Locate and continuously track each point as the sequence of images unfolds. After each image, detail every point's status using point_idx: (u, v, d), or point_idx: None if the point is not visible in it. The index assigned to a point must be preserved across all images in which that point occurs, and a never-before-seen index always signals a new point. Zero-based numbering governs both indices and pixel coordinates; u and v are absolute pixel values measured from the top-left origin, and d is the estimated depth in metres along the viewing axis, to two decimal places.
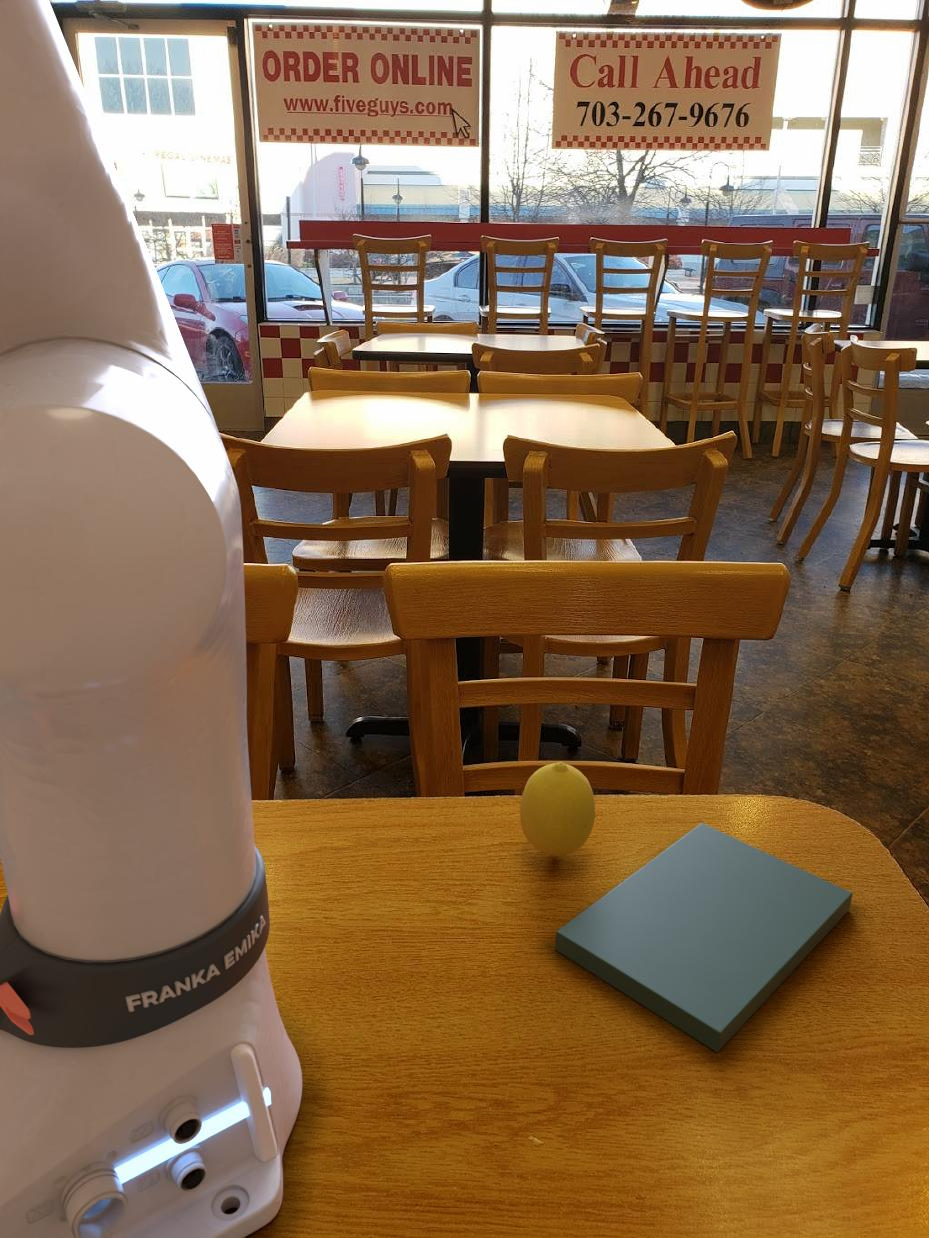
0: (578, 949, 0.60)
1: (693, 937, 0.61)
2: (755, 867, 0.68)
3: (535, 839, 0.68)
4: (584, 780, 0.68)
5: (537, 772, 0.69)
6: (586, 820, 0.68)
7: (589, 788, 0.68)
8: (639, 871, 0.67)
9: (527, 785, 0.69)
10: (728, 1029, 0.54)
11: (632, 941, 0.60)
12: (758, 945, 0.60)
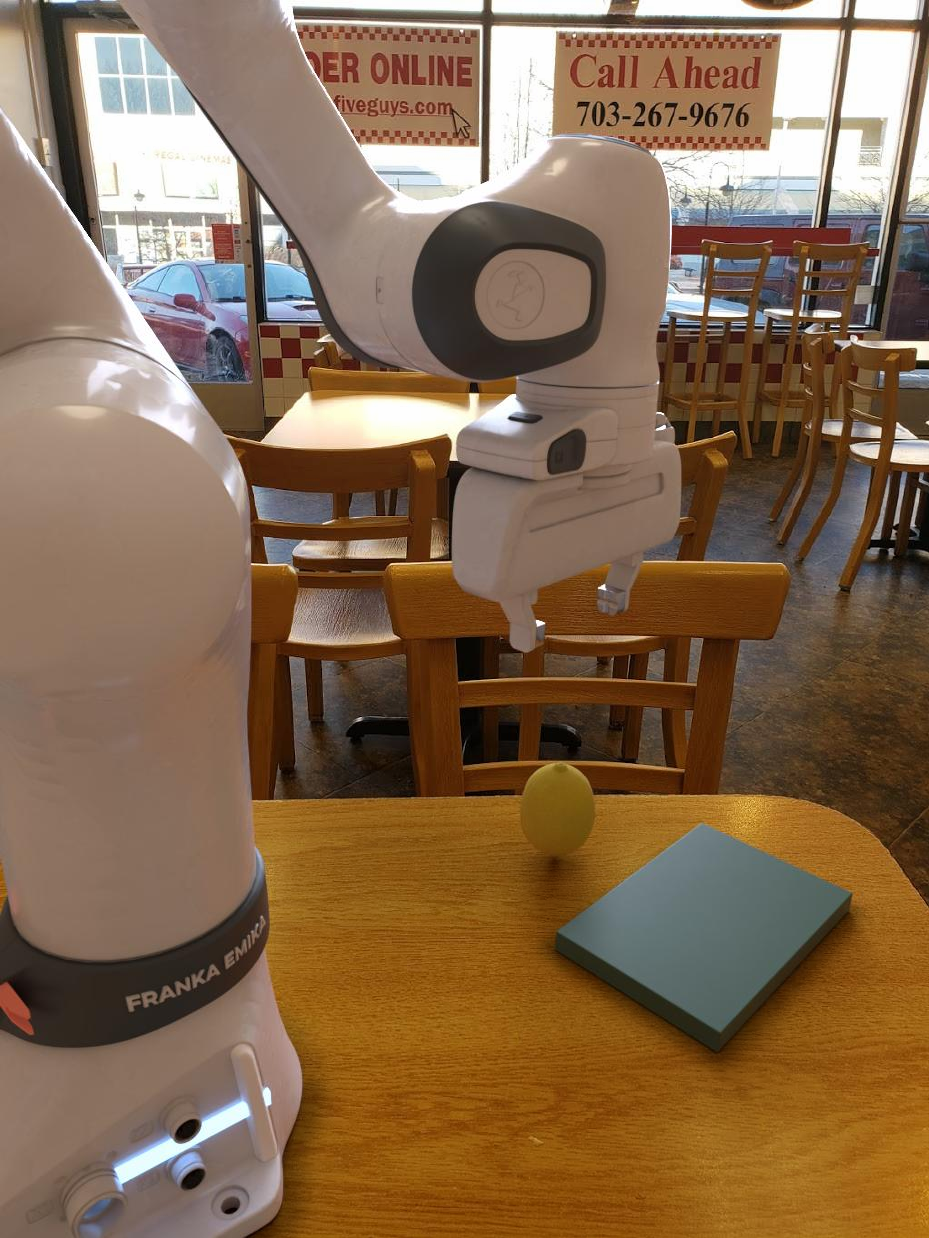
0: (578, 949, 0.60)
1: (693, 937, 0.61)
2: (755, 867, 0.68)
3: (535, 839, 0.68)
4: (584, 780, 0.68)
5: (537, 772, 0.69)
6: (586, 820, 0.68)
7: (589, 788, 0.68)
8: (639, 871, 0.67)
9: (527, 785, 0.69)
10: (728, 1029, 0.54)
11: (632, 941, 0.60)
12: (758, 945, 0.60)
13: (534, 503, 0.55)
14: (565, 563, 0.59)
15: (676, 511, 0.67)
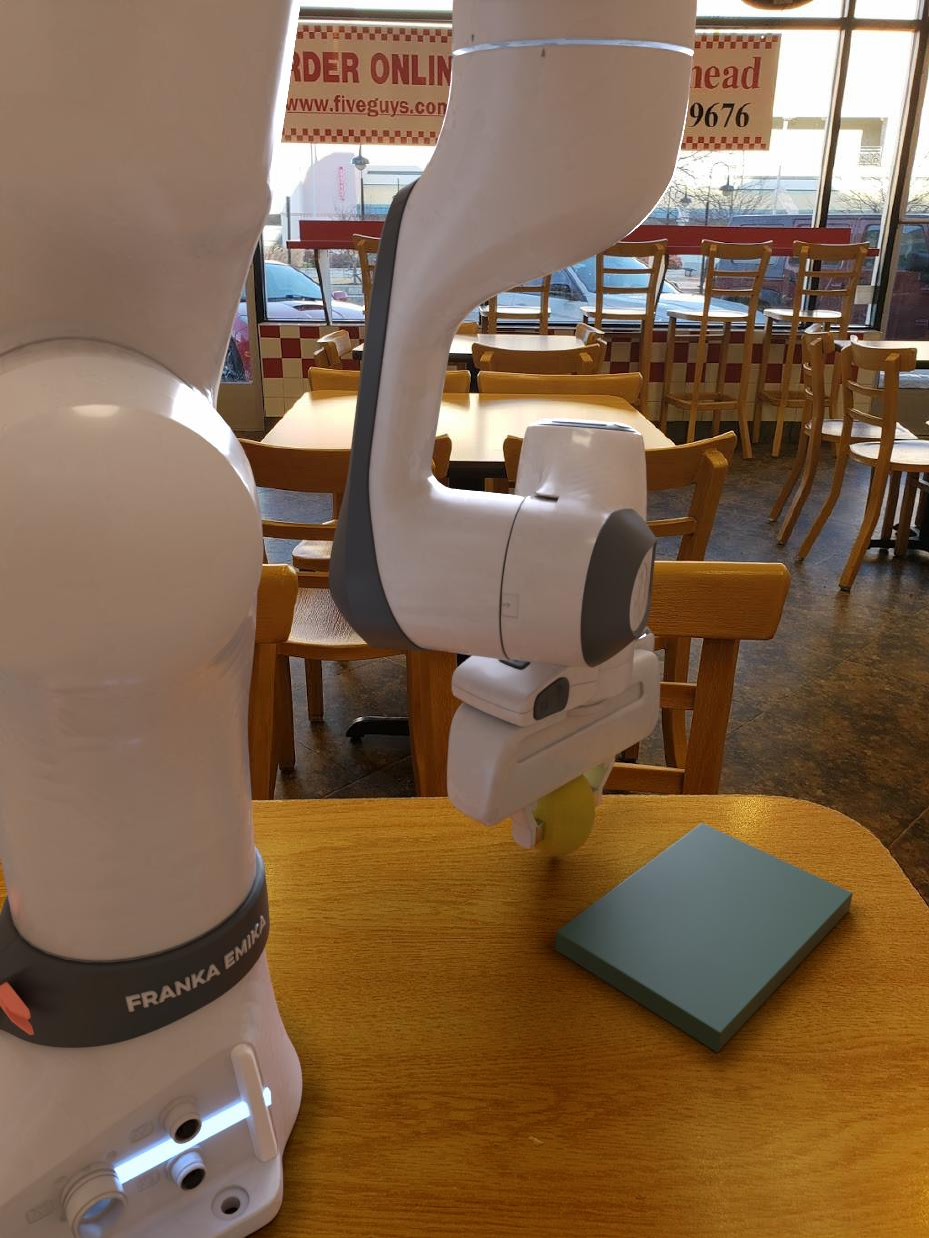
0: (578, 949, 0.60)
1: (693, 937, 0.61)
2: (755, 867, 0.68)
3: None
4: (584, 780, 0.68)
5: None
6: (586, 819, 0.68)
7: (589, 788, 0.68)
8: (639, 871, 0.67)
9: None
10: (728, 1029, 0.54)
11: (632, 941, 0.60)
12: (758, 945, 0.60)
13: (522, 740, 0.60)
14: (551, 780, 0.64)
15: (655, 709, 0.72)
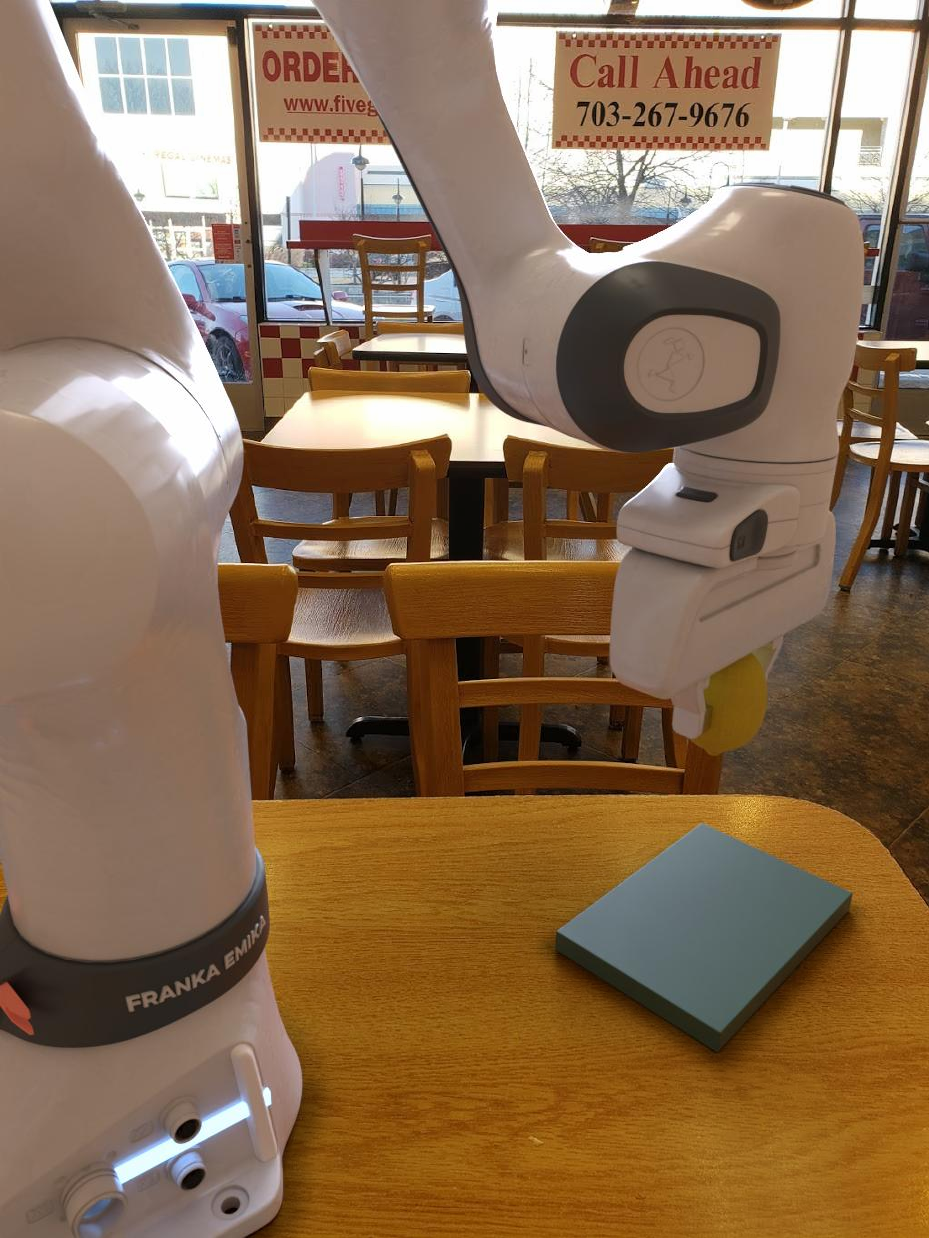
0: (578, 949, 0.60)
1: (693, 937, 0.61)
2: (755, 867, 0.68)
3: None
4: (756, 659, 0.57)
5: None
6: (761, 705, 0.56)
7: (762, 668, 0.57)
8: (639, 871, 0.67)
9: None
10: (728, 1029, 0.54)
11: (632, 941, 0.60)
12: (758, 945, 0.60)
13: None
14: (729, 650, 0.53)
15: (828, 583, 0.61)
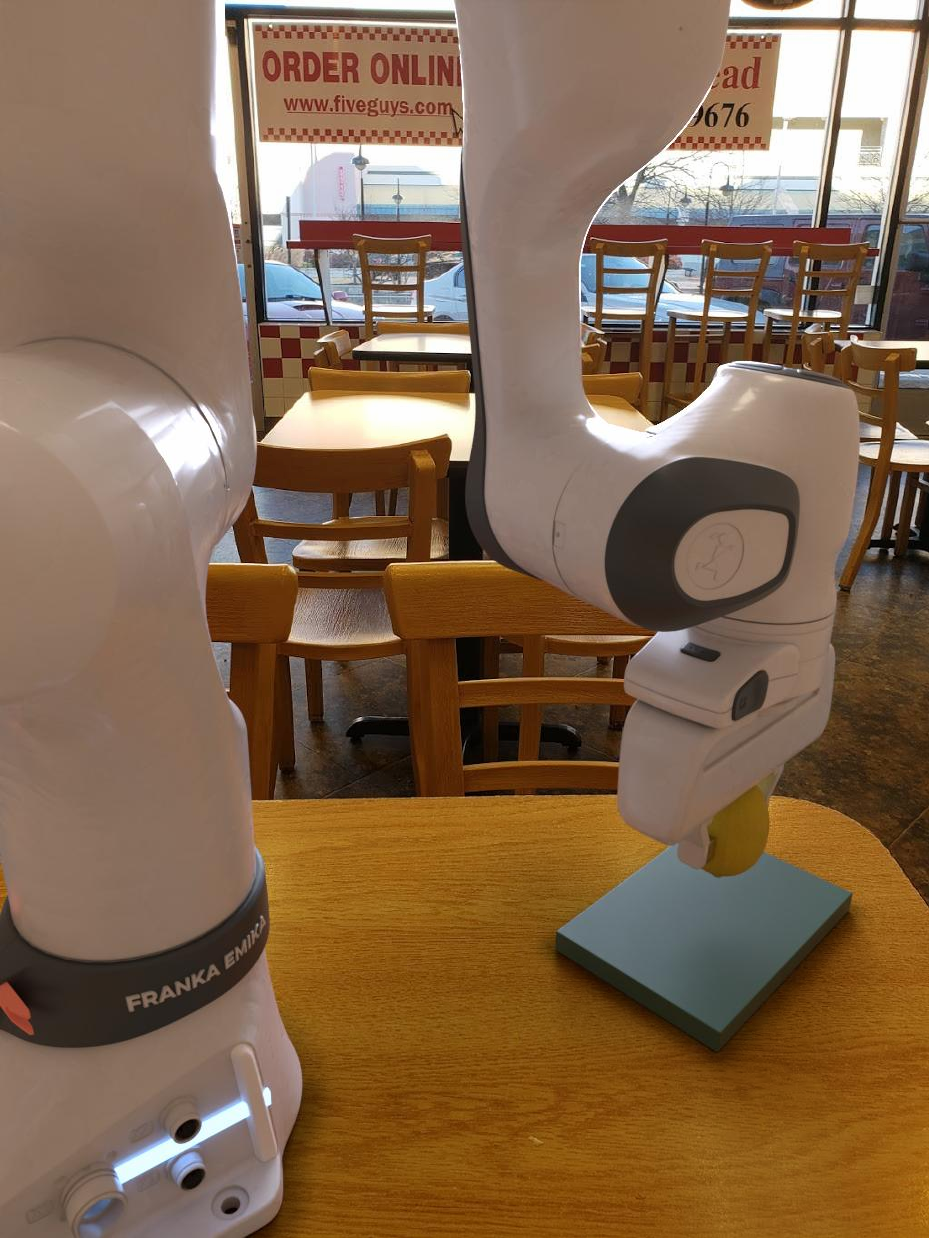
0: (578, 949, 0.60)
1: (693, 937, 0.61)
2: (755, 867, 0.68)
3: None
4: (758, 789, 0.59)
5: None
6: (763, 835, 0.59)
7: (764, 798, 0.59)
8: (639, 871, 0.67)
9: None
10: (728, 1029, 0.54)
11: (632, 941, 0.60)
12: (758, 945, 0.60)
13: None
14: (731, 790, 0.55)
15: (827, 707, 0.63)
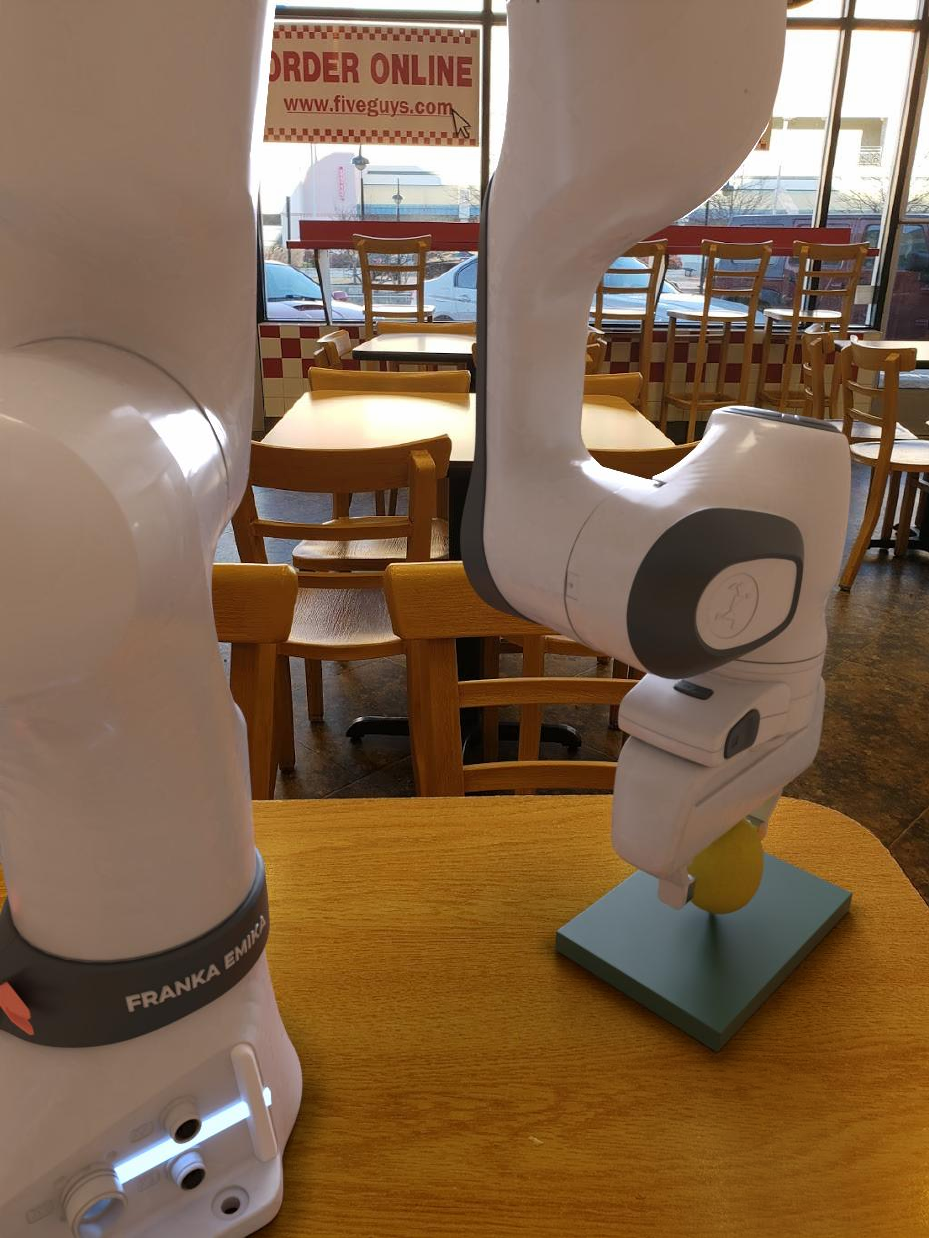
0: (578, 949, 0.60)
1: (693, 937, 0.61)
2: None
3: (698, 895, 0.60)
4: (753, 829, 0.60)
5: None
6: (757, 874, 0.60)
7: (759, 838, 0.60)
8: (639, 871, 0.67)
9: None
10: (728, 1029, 0.54)
11: (632, 941, 0.60)
12: (758, 945, 0.60)
13: None
14: (723, 823, 0.56)
15: (817, 738, 0.64)
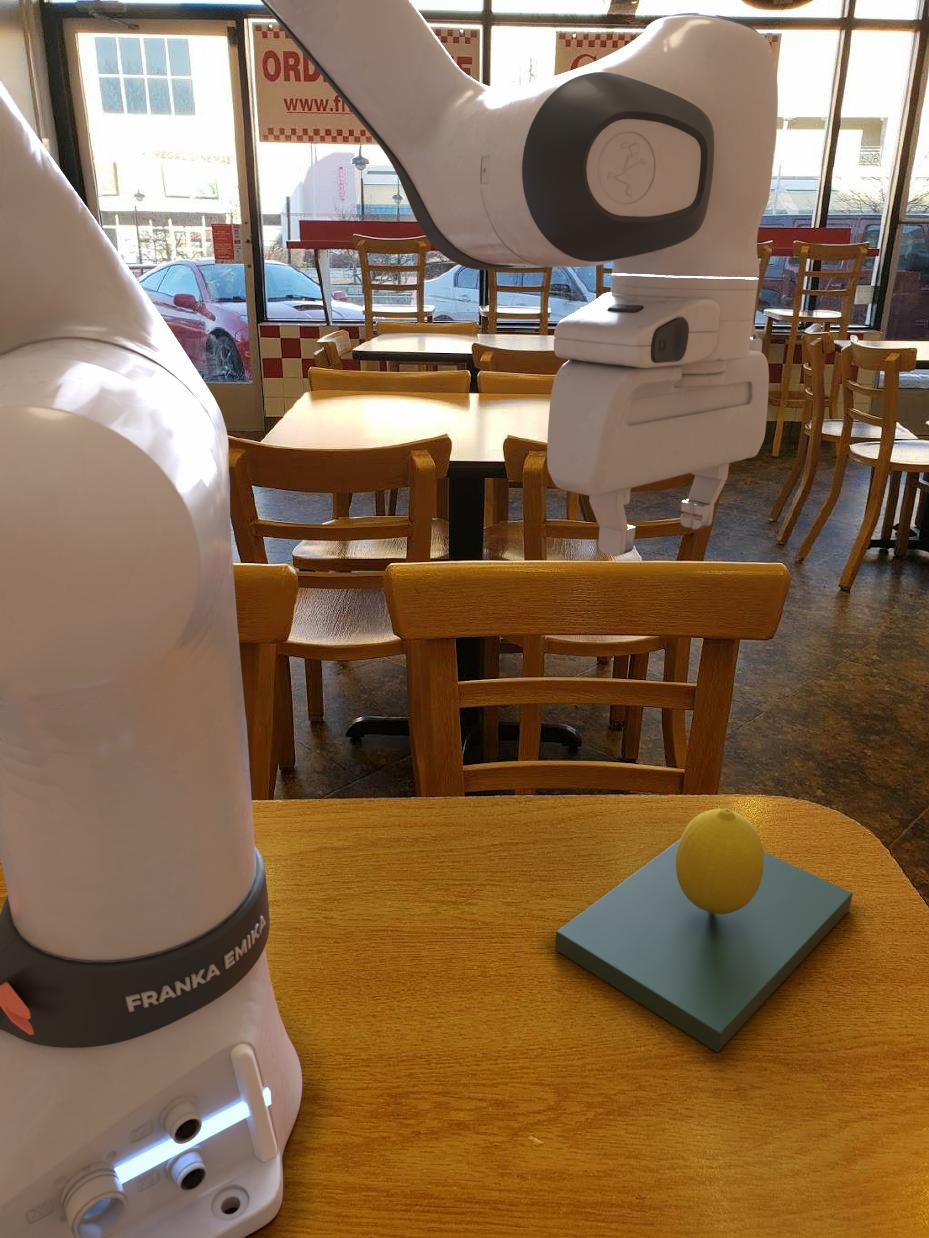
0: (578, 949, 0.60)
1: (693, 937, 0.61)
2: None
3: (698, 895, 0.60)
4: (753, 829, 0.60)
5: (698, 819, 0.61)
6: (757, 874, 0.60)
7: (759, 838, 0.60)
8: (639, 871, 0.67)
9: (687, 834, 0.61)
10: (728, 1029, 0.54)
11: (632, 941, 0.60)
12: (758, 945, 0.60)
13: (634, 394, 0.54)
14: (659, 463, 0.58)
15: (762, 424, 0.66)
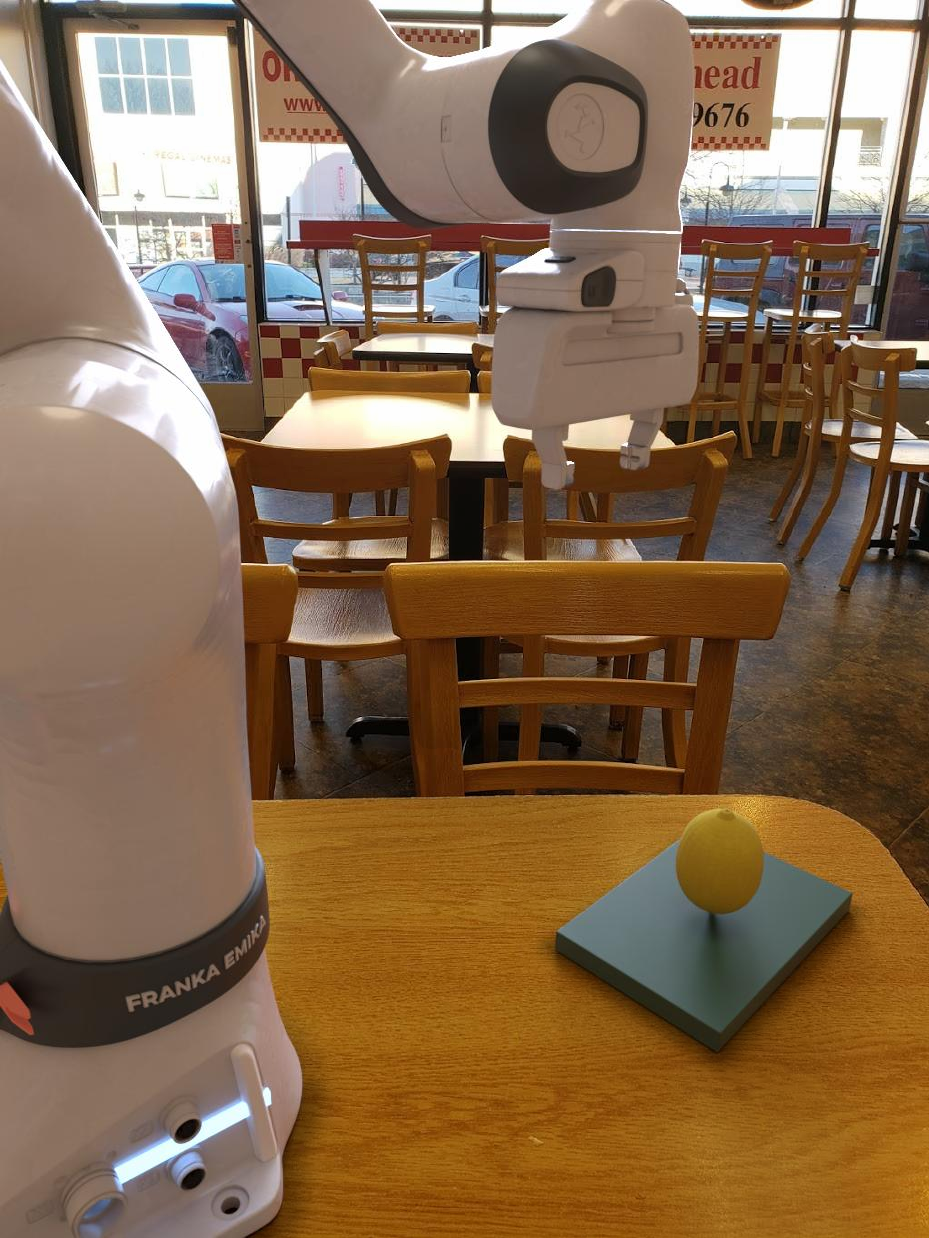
0: (578, 949, 0.60)
1: (693, 937, 0.61)
2: None
3: (698, 895, 0.60)
4: (753, 829, 0.60)
5: (698, 819, 0.61)
6: (757, 874, 0.60)
7: (759, 838, 0.60)
8: (639, 871, 0.67)
9: (687, 834, 0.61)
10: (728, 1029, 0.54)
11: (632, 941, 0.60)
12: (758, 945, 0.60)
13: (568, 337, 0.60)
14: (594, 402, 0.64)
15: (694, 374, 0.72)
